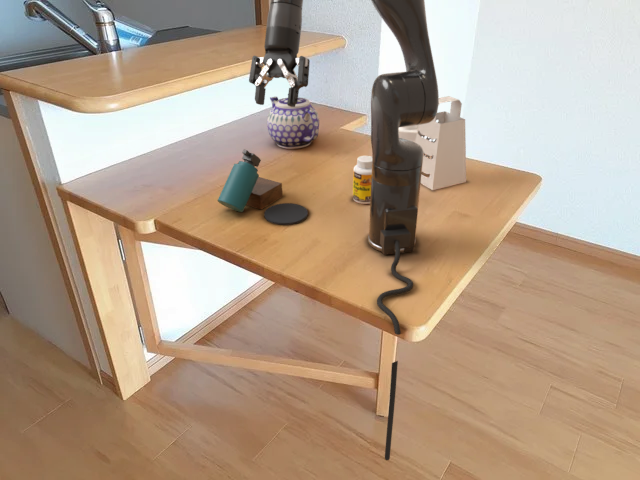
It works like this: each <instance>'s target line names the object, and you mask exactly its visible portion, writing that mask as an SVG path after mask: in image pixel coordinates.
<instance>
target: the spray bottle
mask: <svg viewBox="0 0 640 480" xmlns="http://www.w3.org/2000/svg"><path fill="white" fill-rule="evenodd" d="M242 154H243V155H242V157H241V159H242V160H239V161H238V163H234V164H233V166H232V168H231V170H230V172H229V175H228V176H227V179H226V181H225V183H224V185H223V188H222V190H221V192H220V194H219V196H218V198H217V202H218V203H219V204H221V205H222V206H224V207H226V208H228V209H231V210H233V211H235V212H237V213H238V212H239V213H243V212H244V210H245V209H246V207H247V205H246V204H247V201H248V199H249V197H250V195H251V192H252V190H253V188H254V186H255V184H256V181H257V179H258V177H260V175H259V173H258V172H259V169H258V167H259V166H260V163H261V161H262V159H261V158H260V157H259V156H258V155H256V154H255V153H253V152H250V151H249V150H248V149H243V150H242Z"/></svg>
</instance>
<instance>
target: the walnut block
mask: <svg viewBox="0 0 640 480" xmlns="http://www.w3.org/2000/svg"><path fill="white" fill-rule="evenodd" d="M281 198H283V183H282V182H279V181H275V180H271V179H269V178H264V177H261V176H259V177H258V179H257V181H256V184H255V186H254V188H253V190H252V192H251V195H250V197H249V199H248V201H247V204H246V206H248V207H252V208H255V209H258V210H263V209H264V208H266V207H268V206H269V205H271V204H272V203H275V202H276V201H277V200H279V199H281Z"/></svg>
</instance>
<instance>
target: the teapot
mask: <svg viewBox="0 0 640 480" xmlns="http://www.w3.org/2000/svg"><path fill="white" fill-rule="evenodd" d="M269 99H270V102H271V107H272V108H271V109H269V111H268V113H267V121H266V127H267V132H268V135H269V137H270V138H271V140H272V141H273V142H275V144H276V145H277V146H278V147H280V148H281V149H282V148H283V149H286V150H287V149H288V150H289V149H292V150H293V149H301V148H305V147H308V146H310V145H311V144H312V142H314V141H316V140H317V138H318V136H319V132H320V117H319V113H318V111H317V109H316V108H315V107H314V106H313V105H312V104H311V101H310V100H309V99H308V98H306V97H298V102H297V104H296V105H295V107H291V106H288V105H287V102H288V97H284V98H280V99H279V97H278V96H271V97H269Z"/></svg>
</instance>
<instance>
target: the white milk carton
mask: <svg viewBox="0 0 640 480" xmlns="http://www.w3.org/2000/svg"><path fill="white" fill-rule="evenodd" d="M418 126H419V125H414V126H406V127H399V138H402V139H406V140H410V141H413V142H415V139H416V134H417V130H418Z"/></svg>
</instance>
